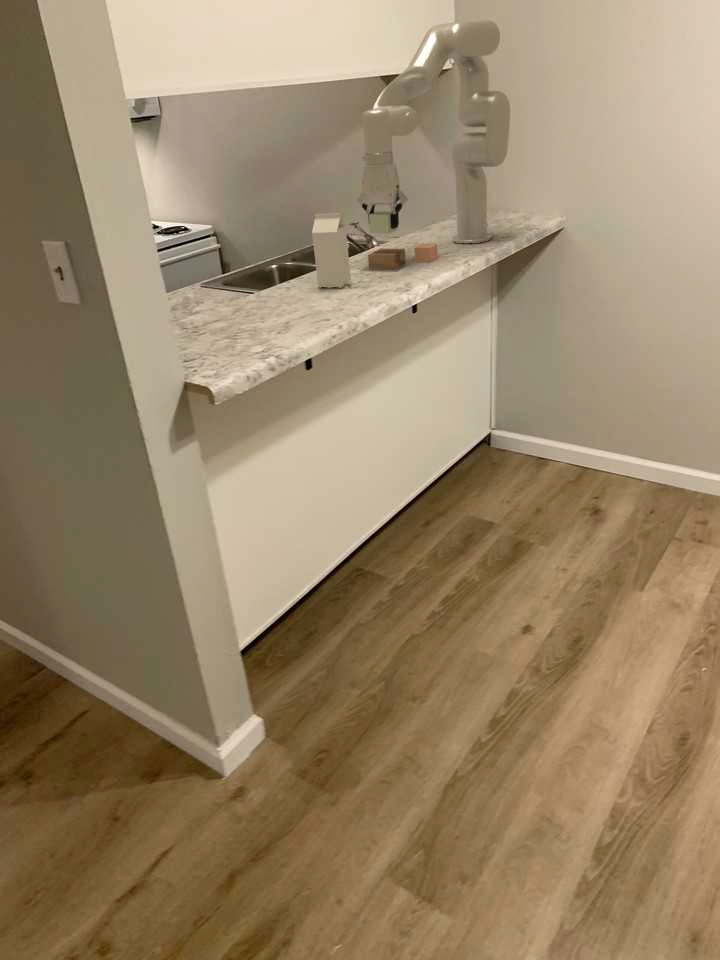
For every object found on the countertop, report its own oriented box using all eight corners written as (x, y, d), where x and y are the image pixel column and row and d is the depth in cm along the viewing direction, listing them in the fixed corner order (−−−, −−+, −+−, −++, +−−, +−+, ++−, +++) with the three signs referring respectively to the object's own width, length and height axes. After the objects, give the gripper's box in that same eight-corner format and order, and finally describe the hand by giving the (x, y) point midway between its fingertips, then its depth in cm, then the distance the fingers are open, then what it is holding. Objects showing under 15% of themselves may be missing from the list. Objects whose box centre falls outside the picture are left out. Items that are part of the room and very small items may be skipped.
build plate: (378, 262, 222) (378, 260, 221) (414, 263, 216) (414, 261, 216) (360, 273, 213) (359, 270, 212) (397, 274, 207) (397, 271, 207)
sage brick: (379, 228, 213) (378, 210, 210) (398, 229, 210) (397, 211, 208) (369, 233, 208) (369, 214, 206) (388, 233, 206) (388, 215, 203)
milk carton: (342, 288, 200) (335, 216, 190) (318, 288, 202) (309, 216, 193) (351, 281, 205) (344, 210, 196) (327, 281, 208) (319, 211, 198)
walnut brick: (381, 262, 219) (380, 248, 217) (405, 262, 215) (404, 248, 213) (369, 268, 213) (367, 254, 211) (393, 269, 209) (392, 255, 207)
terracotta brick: (422, 260, 220) (421, 243, 217) (437, 261, 217) (437, 243, 215) (415, 264, 216) (414, 247, 213) (431, 265, 214) (430, 247, 211)
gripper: (345, 162, 201) (351, 230, 210) (402, 160, 193) (405, 230, 202) (358, 158, 207) (363, 225, 216) (413, 156, 199) (417, 225, 208)
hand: (384, 227), depth 209 cm, fingers closed on sage brick, 6 cm apart
